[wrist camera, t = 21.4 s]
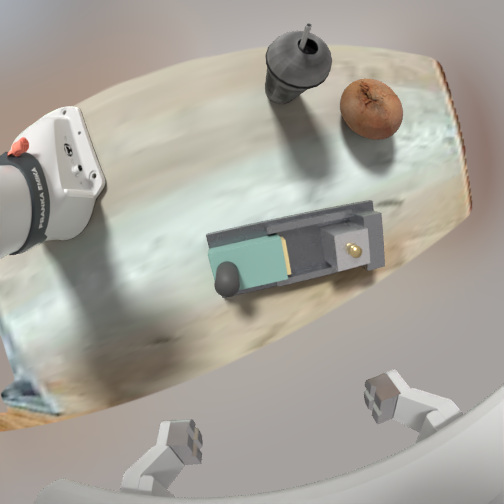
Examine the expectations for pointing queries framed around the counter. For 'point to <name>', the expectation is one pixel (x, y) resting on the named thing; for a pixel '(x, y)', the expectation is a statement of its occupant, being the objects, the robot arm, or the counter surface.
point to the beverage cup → (296, 65)
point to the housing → (345, 245)
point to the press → (309, 239)
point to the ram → (249, 264)
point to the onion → (371, 109)
